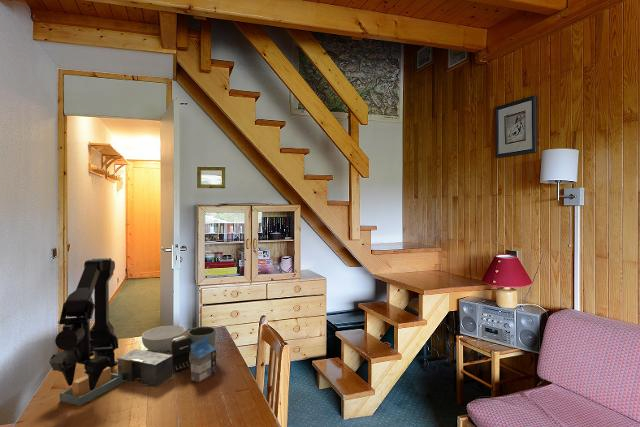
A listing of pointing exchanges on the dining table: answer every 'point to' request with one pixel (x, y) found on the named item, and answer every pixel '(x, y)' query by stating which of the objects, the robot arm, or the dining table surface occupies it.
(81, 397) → the tray
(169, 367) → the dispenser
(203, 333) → the gray cylindrical cup
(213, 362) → the label tape cartridge
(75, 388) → the orange-brown rectangular block
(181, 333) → the cereal bowl
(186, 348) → the battery charger
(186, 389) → the dining table surface
